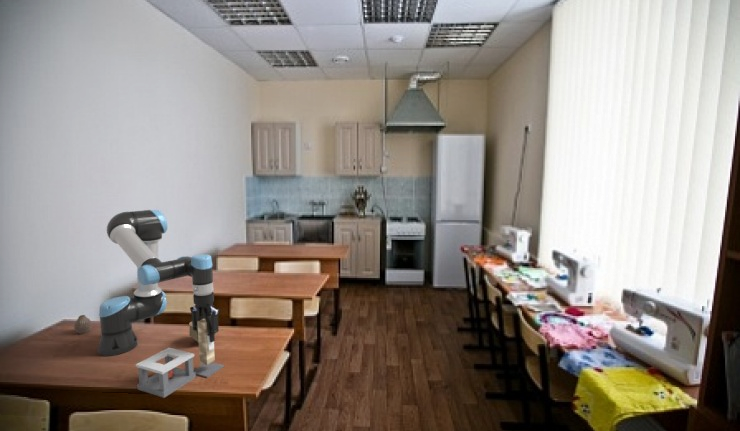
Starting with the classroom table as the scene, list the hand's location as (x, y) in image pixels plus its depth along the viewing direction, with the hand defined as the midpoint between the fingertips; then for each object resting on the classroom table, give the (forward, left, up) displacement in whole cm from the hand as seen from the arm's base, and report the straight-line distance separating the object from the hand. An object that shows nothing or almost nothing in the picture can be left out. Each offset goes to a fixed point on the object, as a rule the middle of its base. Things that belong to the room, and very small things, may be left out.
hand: (206, 347), depth 145 cm
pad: (0, 0, -10) cm, 10 cm away
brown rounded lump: (-89, +4, -10) cm, 89 cm away
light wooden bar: (0, 0, -6) cm, 6 cm away
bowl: (-22, +19, -10) cm, 31 cm away
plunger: (-7, -13, -9) cm, 17 cm away
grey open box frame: (-7, -13, -10) cm, 18 cm away
